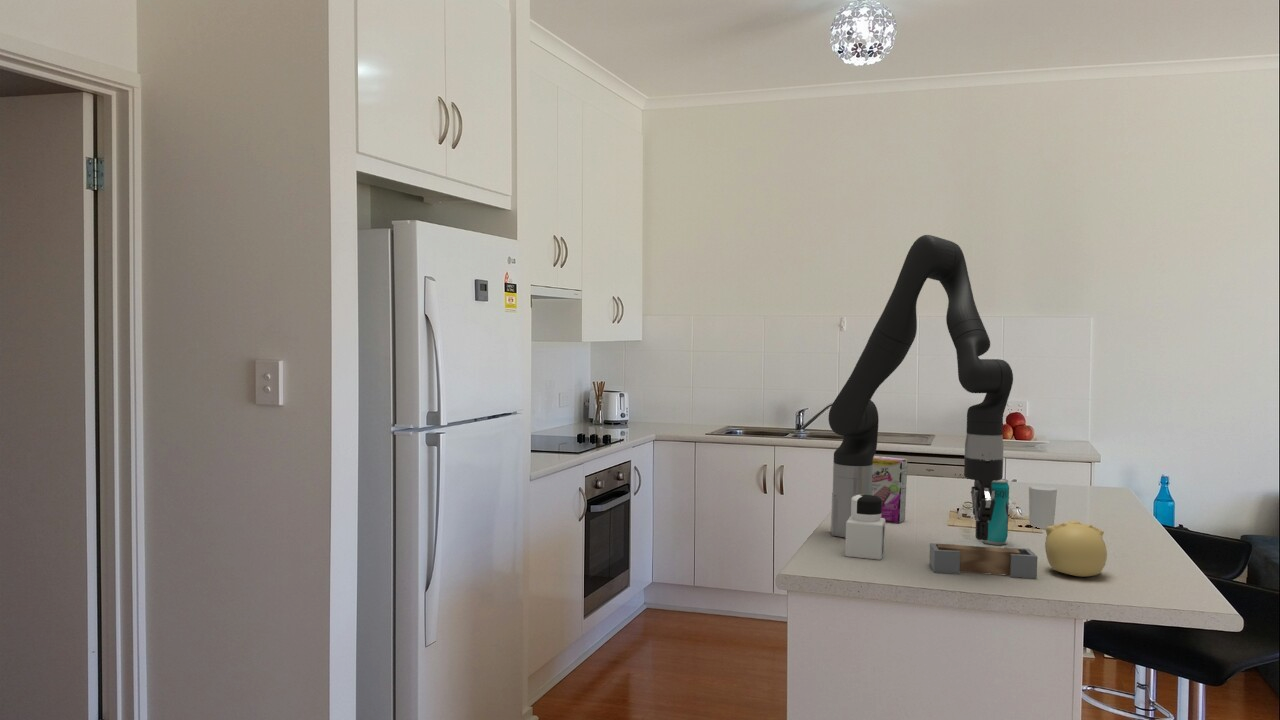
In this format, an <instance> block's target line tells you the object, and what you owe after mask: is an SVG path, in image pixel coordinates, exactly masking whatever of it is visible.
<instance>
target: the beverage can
mask: <svg viewBox="0 0 1280 720" xmlns="http://www.w3.org/2000/svg"><path fill="white" fill-rule="evenodd" d="M991 484H992V489H994V491H995V495H994V498H993V499H995V505H994V510H993V514H992V519H991V521H989V522H988V539H987V540H982V541H983V543H984V544H988V545H993V546H994V545H995V546H1002V545H1005V543H1006V542H1007V539H1008V534H1009V533H1008V531H1009V509H1010V508H1009V505H1010V502H1009V501H1010V486H1009V479H1006V478H1002V479H1001V480H998V481H992V483H991Z"/></svg>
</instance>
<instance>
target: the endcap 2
mask: <svg viewBox="0 0 1280 720" xmlns="http://www.w3.org/2000/svg"><path fill="white" fill-rule="evenodd" d="M1003 548H1008V549H1018V550H1019V552H1020V554H1010V575H1009V577H1010V578H1017V577H1022V578H1021V579H1034V578H1037V579H1038V555H1036V553H1035V552H1033V551H1032V549H1030V548H1026V547H1025V548H1024V547H1023V548H1022V547H1003Z"/></svg>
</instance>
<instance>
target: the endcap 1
mask: <svg viewBox="0 0 1280 720" xmlns="http://www.w3.org/2000/svg"><path fill="white" fill-rule="evenodd" d="M937 544H938V543H937V542H936V543H933V542H930V543H929V566H930V569H931V570H932V571H933V573H937V574H951V575H952V574H956V575H960V572H959V568H960V551H951V550H939V549H938V547H937ZM949 544H950V543H949ZM950 545H955V544H953V543H952V544H950Z"/></svg>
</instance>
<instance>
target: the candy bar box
mask: <svg viewBox="0 0 1280 720" xmlns="http://www.w3.org/2000/svg"><path fill="white" fill-rule="evenodd" d="M872 465H873V470H872V495H873V496H877V497H879V498H880V499H881V500H882V514H881V517H880V518H884V519H885V523H890V524H891V523H892V524H901V523H903V522H905V521H906V505H907V504H906V503H907V502H906V501H907V483H908V482H907V477H908V475H907V474H908V459H907V458H902V457H901V458H900V457H899V458H898V457H889V456H881V455H874V457H873V464H872Z"/></svg>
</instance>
